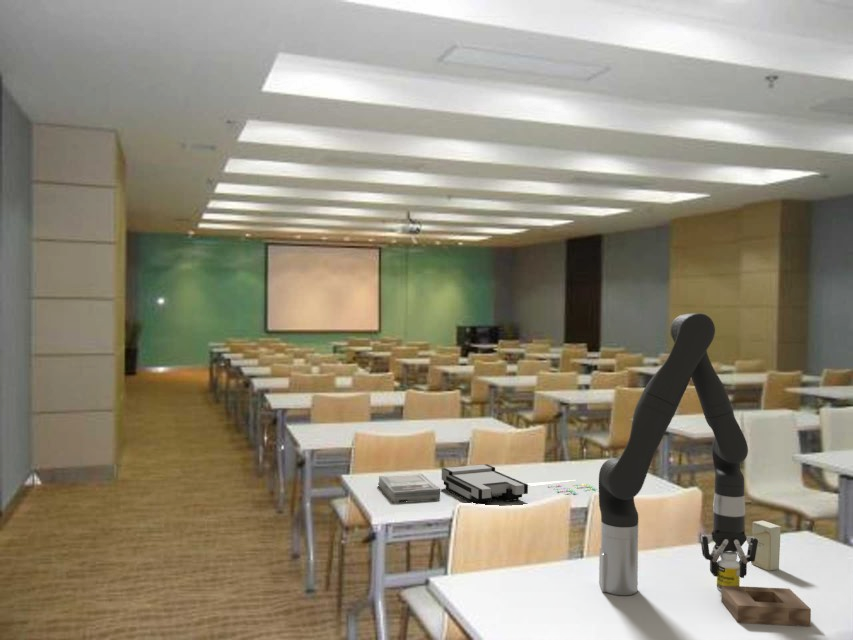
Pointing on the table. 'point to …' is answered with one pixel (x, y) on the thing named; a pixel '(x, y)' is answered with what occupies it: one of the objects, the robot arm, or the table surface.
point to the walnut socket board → (765, 606)
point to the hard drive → (409, 487)
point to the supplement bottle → (728, 570)
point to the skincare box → (767, 545)
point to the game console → (482, 484)
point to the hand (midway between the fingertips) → (728, 575)
